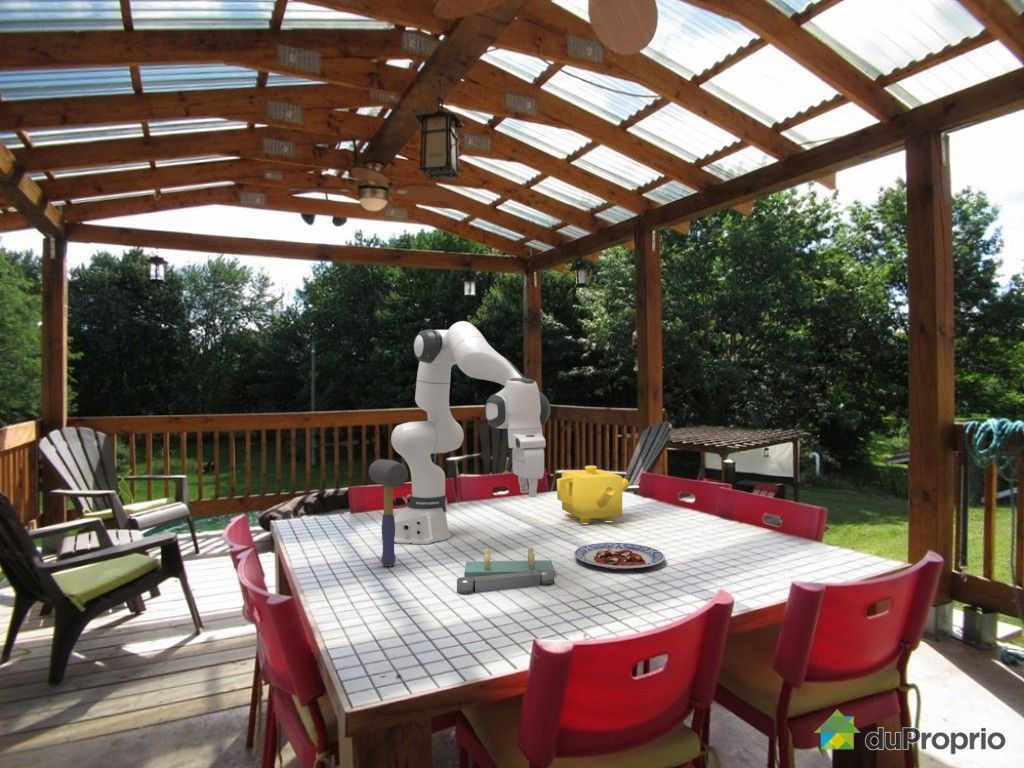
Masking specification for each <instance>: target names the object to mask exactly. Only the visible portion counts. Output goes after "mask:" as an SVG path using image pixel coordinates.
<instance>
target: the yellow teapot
mask: <svg viewBox="0 0 1024 768" xmlns="http://www.w3.org/2000/svg"><path fill="white" fill-rule="evenodd" d="M630 486H631V482H629V480H628V479H626V478H625V477H622V475H619V474H616V473H612V472H609V471H606V470H603V469H598V466H597V465H585V466H584V470H566V471H565V470H563V471H561V477H559V478H556V495H557V497H556V498H557V500H559V501H560V502H561V510H562V511H565V512H567V514H570V515H569V517H570V518H569V519H572V518H578V519H579V521H578V523H579V522H580V523H590V524H591V519H592V520H593V519H602V520H604V521H613V520H614V518H619V517H620V518H621V517H623V492H624V491H626V490H627V489H628V488H629V487H630ZM604 521H603V522H604ZM580 523H579V524H580Z"/></svg>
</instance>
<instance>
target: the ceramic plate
mask: <svg viewBox="0 0 1024 768" xmlns="http://www.w3.org/2000/svg"><path fill="white" fill-rule="evenodd" d="M573 554H574V556H575V558H576V559H577V560H578V561H581V562H583V563H586V564H589V565H592V566H596V567H600V566H602V567H601V568H604V567H608V568H607V569H609V568H616V569H615V570H635V569H634V568H637V569H641V568H648V567H653V566H655V565H659V564H661V563H662V562H663V561H665V557H666V556H665V554H664V553H663V552H662V551H660V549H659V550H658V549H656V548H654V547H651V546H647V545H642V544H637V543H629V542H628V543H627V542H600V543H599V542H598V543H597V542H596V543H591V544H586V545H583V546H580V547H578V548H577V549H576V550H575V551H574V553H573Z"/></svg>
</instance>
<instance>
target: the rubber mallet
mask: <svg viewBox="0 0 1024 768" xmlns="http://www.w3.org/2000/svg"><path fill="white" fill-rule="evenodd" d="M368 475H369V478H370V480H372V481H373V482H374V483H376V484H379V485H380V486H383V514H382V519H381V540H382V539H383V541H382V553H381V558H380V559H381V560H380V562H381V563H382V565H383V566H384V565H385V566H384V567H387V566H389V567H392V565H393V566H395V563H396V561H397V559H396V553H395V543H394V538H395V520H394V517H395V515H394V489H396V488H401V487H402V486H403V485H405V483H406V482H407V480H408V478H409V477H408V476H409V472H408V469H407V467H406V466H405V464H403V463H400V462H398V461H395V460H392V459H384V458H382V459H381V458H380V459H376V460H374V461H373V462H372V463H371V464H370V465H369V468H368Z"/></svg>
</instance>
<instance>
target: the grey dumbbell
mask: <svg viewBox="0 0 1024 768" xmlns="http://www.w3.org/2000/svg"><path fill="white" fill-rule="evenodd" d="M553 584H554V585H555V577H554V571H553V570H549V569H542V570H538V571H530V572H520V573H510V574H499V575H489V576H479V577H464V576H461V577H459V578H457V579H456V593H457V594H458V595H463V596H464V595H465V596H468V595H472V594H474V593H476V594H477V593H486V592H494V591H495V592H496V591H505V590H514V589H524V588H534V587H540V586H542V587H551V585H552V586H554V585H553Z"/></svg>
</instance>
